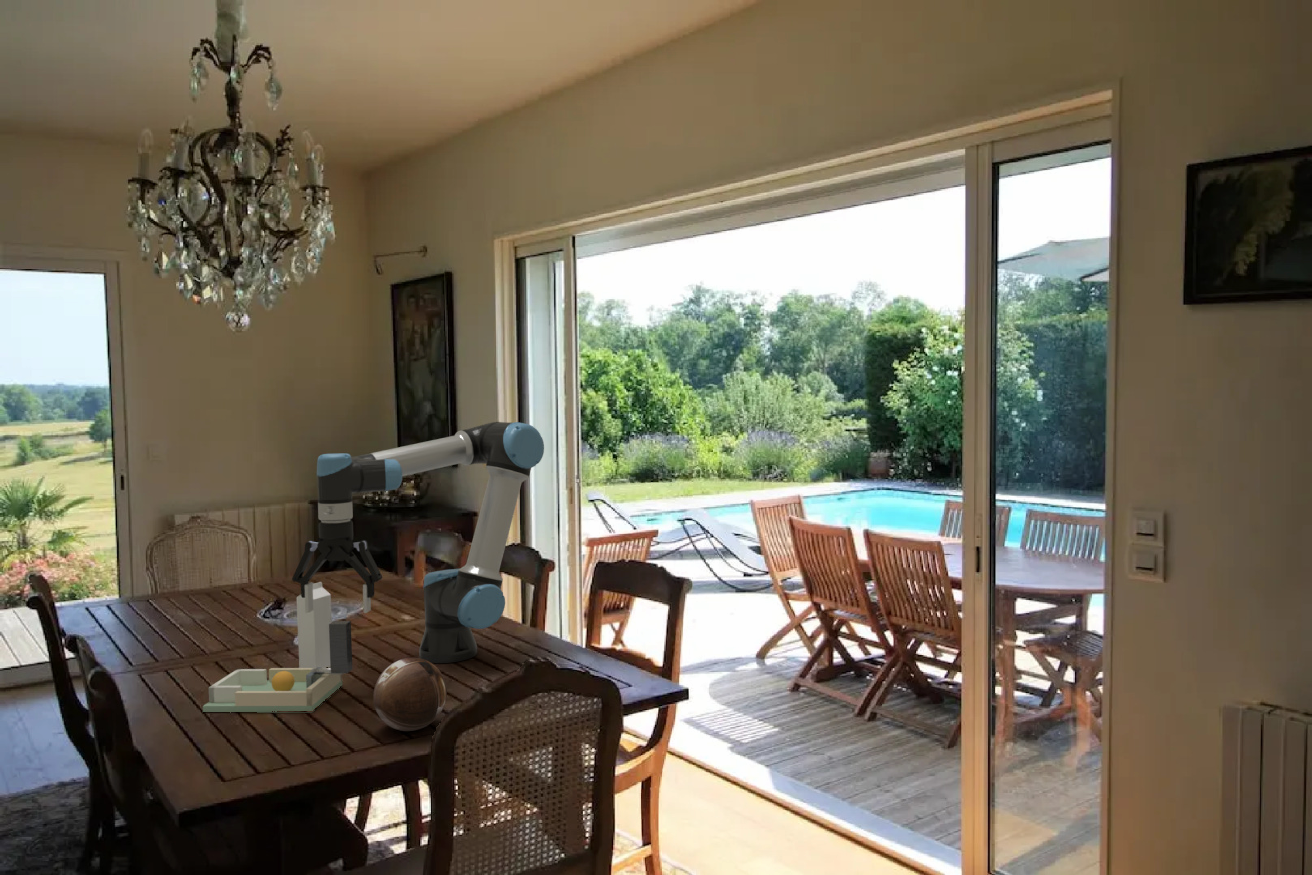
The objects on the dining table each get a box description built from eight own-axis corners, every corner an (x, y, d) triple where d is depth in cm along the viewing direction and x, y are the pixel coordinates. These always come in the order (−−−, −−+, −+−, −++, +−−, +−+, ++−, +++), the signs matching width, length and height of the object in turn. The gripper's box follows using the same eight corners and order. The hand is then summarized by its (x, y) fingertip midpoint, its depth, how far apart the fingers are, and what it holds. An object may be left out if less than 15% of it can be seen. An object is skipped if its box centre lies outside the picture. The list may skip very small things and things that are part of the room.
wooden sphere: (359, 733, 195) (356, 662, 194) (414, 711, 208) (412, 645, 207) (408, 747, 187) (405, 674, 186) (462, 724, 199) (460, 655, 199)
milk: (299, 669, 240) (295, 585, 239) (317, 662, 246) (313, 580, 244) (316, 672, 238) (312, 587, 236) (334, 665, 243) (330, 582, 242)
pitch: (342, 685, 226) (341, 664, 226) (312, 712, 208) (311, 688, 208) (241, 686, 227) (240, 665, 227) (202, 712, 209) (201, 689, 209)
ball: (298, 688, 220) (297, 668, 220) (289, 695, 215) (288, 674, 215) (277, 688, 220) (276, 668, 220) (268, 696, 215) (267, 674, 215)
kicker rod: (355, 686, 220) (353, 619, 219) (346, 694, 214) (343, 625, 213) (316, 686, 220) (314, 619, 219) (306, 694, 214) (303, 626, 213)
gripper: (275, 523, 211) (278, 615, 213) (383, 522, 210) (386, 615, 212) (289, 518, 219) (292, 607, 220) (394, 518, 218) (396, 607, 219)
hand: (338, 611), depth 216 cm, fingers open, 13 cm apart
